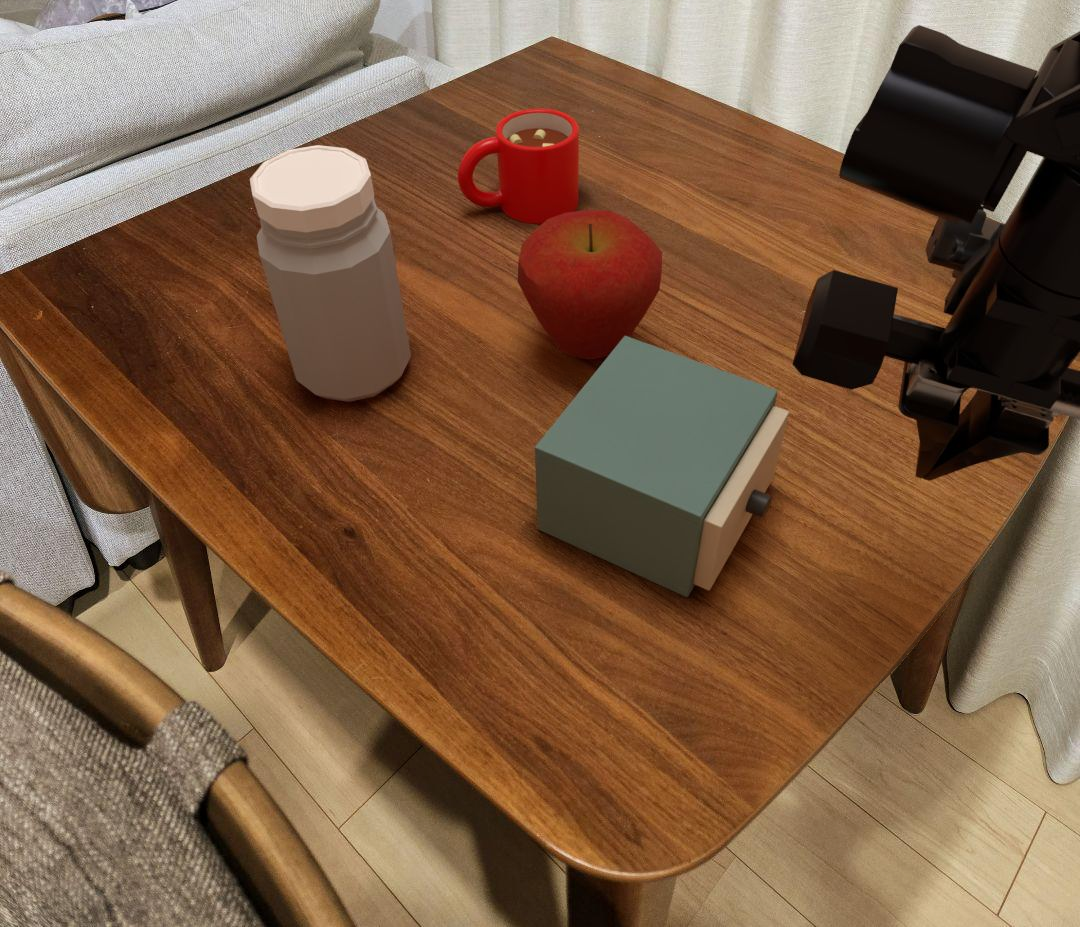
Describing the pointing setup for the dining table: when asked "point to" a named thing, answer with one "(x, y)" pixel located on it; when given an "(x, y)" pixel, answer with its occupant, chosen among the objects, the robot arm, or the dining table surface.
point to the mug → (528, 166)
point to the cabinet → (645, 459)
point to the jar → (331, 271)
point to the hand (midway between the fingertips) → (922, 472)
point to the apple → (589, 279)
